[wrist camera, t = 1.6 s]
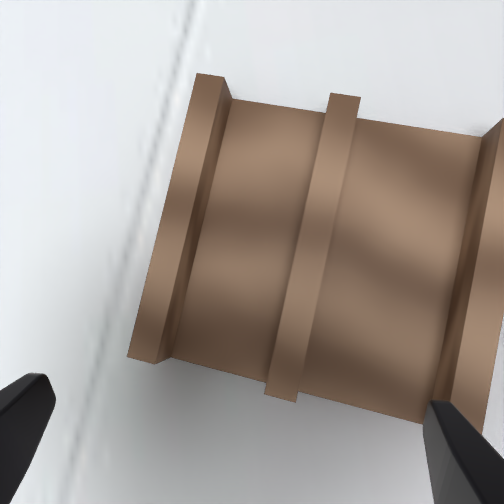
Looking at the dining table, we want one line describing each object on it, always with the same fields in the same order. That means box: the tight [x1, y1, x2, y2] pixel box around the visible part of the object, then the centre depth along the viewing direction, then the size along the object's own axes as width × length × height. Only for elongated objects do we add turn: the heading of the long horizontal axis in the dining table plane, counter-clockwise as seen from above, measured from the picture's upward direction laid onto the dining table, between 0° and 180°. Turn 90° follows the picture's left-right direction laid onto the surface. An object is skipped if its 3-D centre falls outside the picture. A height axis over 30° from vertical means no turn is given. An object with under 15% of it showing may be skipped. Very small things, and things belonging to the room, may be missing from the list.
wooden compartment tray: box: [127, 73, 504, 435], centre depth 22 cm, size 16×18×4 cm
